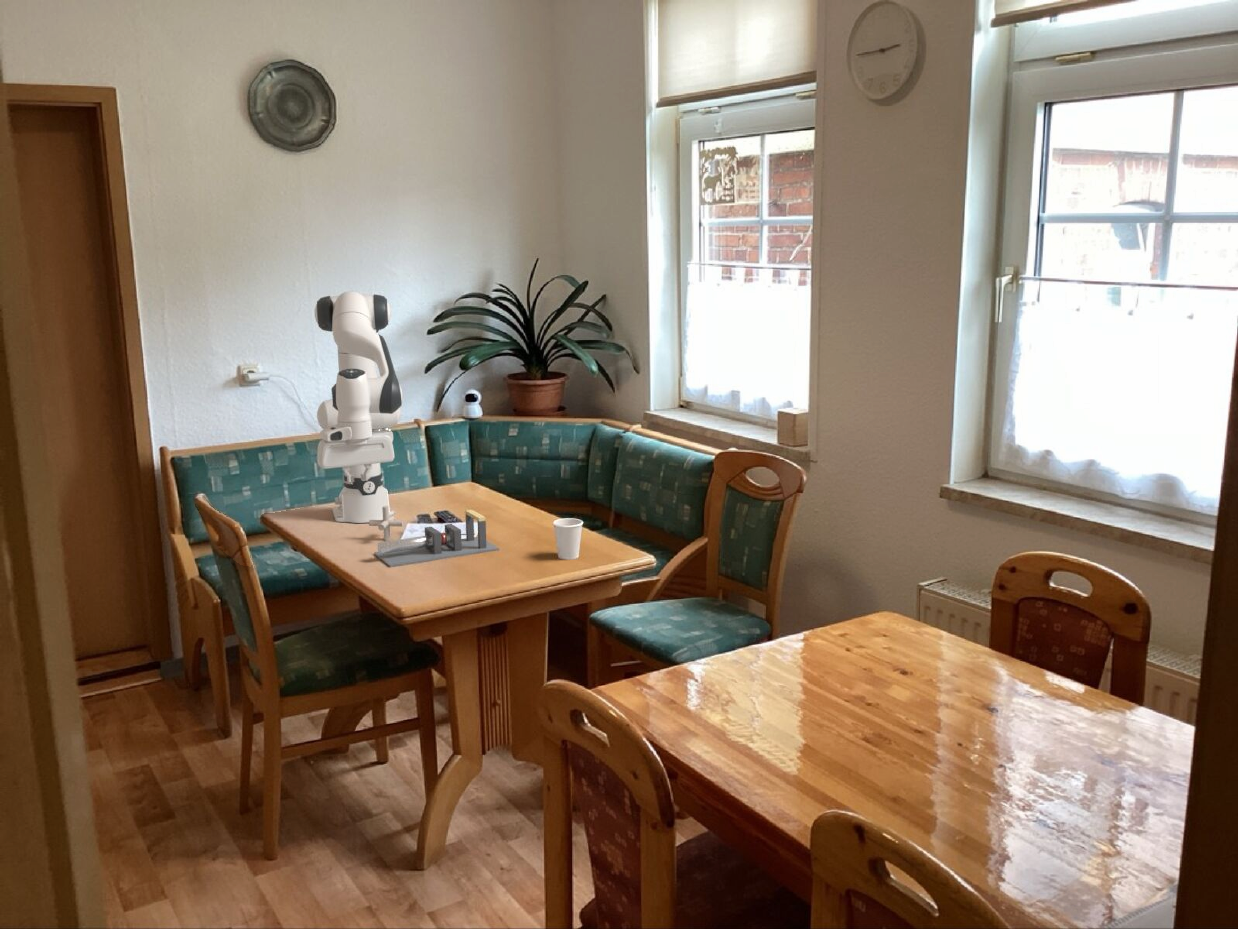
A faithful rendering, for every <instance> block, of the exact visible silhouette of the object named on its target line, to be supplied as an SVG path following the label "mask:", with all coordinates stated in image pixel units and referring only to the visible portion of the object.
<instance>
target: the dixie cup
mask: <svg viewBox="0 0 1238 929" xmlns="http://www.w3.org/2000/svg"><path fill="white" fill-rule="evenodd" d="M552 524H553V529H554V535H555V542H556V550H557V557H558V559H561V560H567V561H570V560H575V559H578V558H579V556H580V548H581V547H580V546H581V538H582V529H583V524H584V521H583V520H582V519H578V518H571V517H570V518H569V517H567V518H559V519H555V520H554V521H552Z"/></svg>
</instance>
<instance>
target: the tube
mask: <svg viewBox="0 0 1238 929" xmlns="http://www.w3.org/2000/svg"><path fill="white" fill-rule="evenodd" d="M449 543H450V535H449V533H445V532H441V545H446V544H449ZM431 546H433V535H427V536H425V535H421V536H415V537H408V538H402V539H395V540H394V539H393V540H385V541H381V542H378V543H377V552H379V554H385V553H391V552H398V551H404V550H411V549H418V548H424V547H431Z"/></svg>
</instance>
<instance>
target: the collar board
mask: <svg viewBox="0 0 1238 929" xmlns="http://www.w3.org/2000/svg"><path fill="white" fill-rule="evenodd" d="M464 513H465V514H464V515H465V537H466V538H462V529H461V528H459V527H457V526H455V525H454V524H452V523H448V524H444V533H449V535H450V543H449V544H446V545H441V533H442V532H440V531H439V530H437V529H435V527H432V526H426V527H425V526H424V536H427V535H433V546H431V547H424V548H418V549H411V550H404V551H398V552H391V553H385V554H379V551H375V552H373V555H375V557H377V558H378V559H379V560H380V561H382V562H383V563H384V564H385V565H386V566H387V567H389V568H394V567H400V566H404V565H407V566H408V565H413V564H418V563H423V562H431V561H438V560H444V559H450V558H456V557H463V556H469V555H476V554H481V553H487V552H488V553H489V552H494V551H499V550H500V547H498V546H497V545H495V544H493V543H492V542H490V541H488V540H487V523H486V521H487V520H486V516H484V515H482V514H480V513H479V512H477V511H475V510H473V509H466V510H465V512H464ZM474 520H476V522H477V536H475V522H474Z"/></svg>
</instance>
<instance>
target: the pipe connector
mask: <svg viewBox="0 0 1238 929" xmlns="http://www.w3.org/2000/svg"><path fill="white" fill-rule="evenodd" d="M389 508H390V505H389V506H383V507H382V510H383V520H369V522H368V526H369V527H377V528H378V530H379V531H383V540H384V541H391V530H390V529H391V528H390V527H401V528H402V527H404V525H405V524H404V520H397V519H396V520H395V516H394V515H390V516H389Z"/></svg>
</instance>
